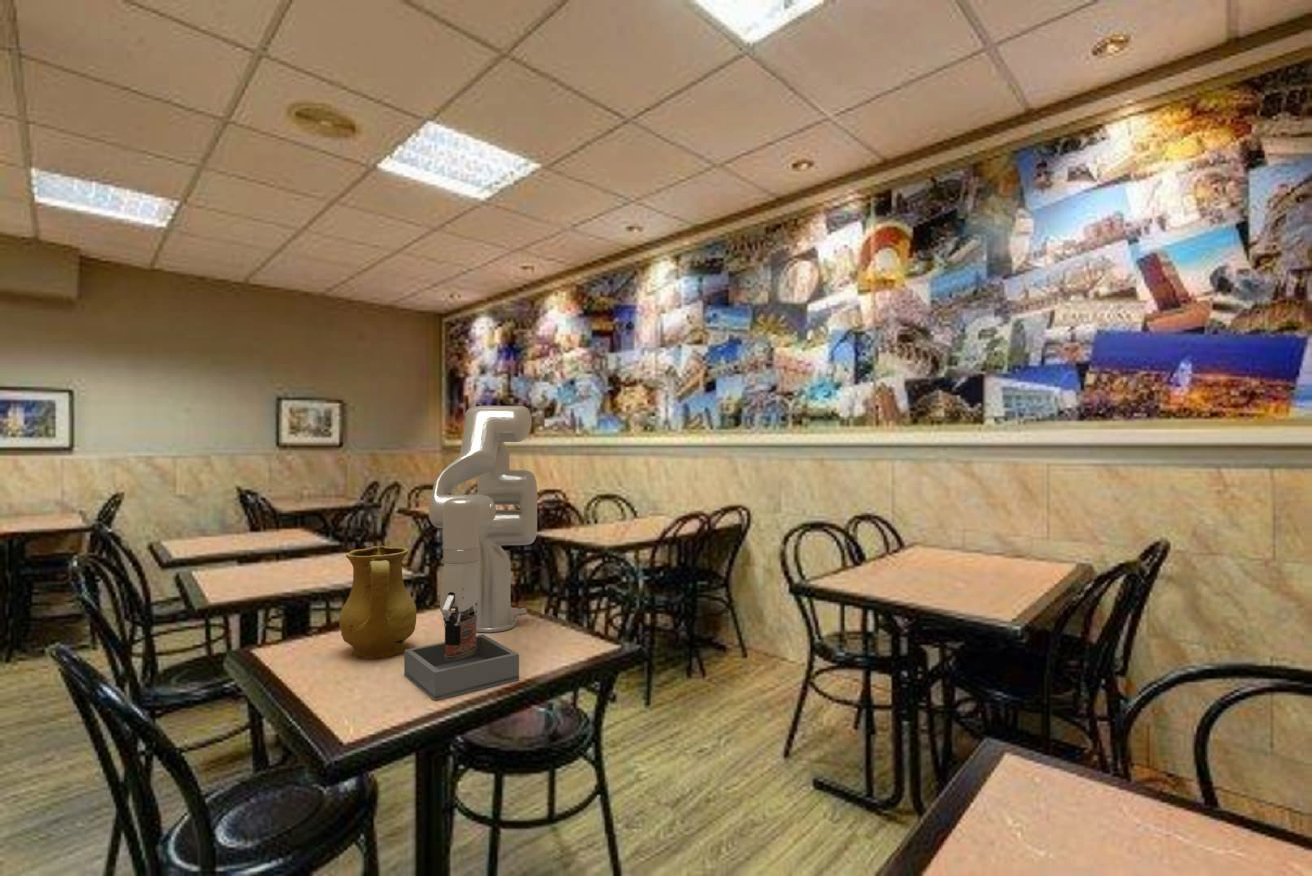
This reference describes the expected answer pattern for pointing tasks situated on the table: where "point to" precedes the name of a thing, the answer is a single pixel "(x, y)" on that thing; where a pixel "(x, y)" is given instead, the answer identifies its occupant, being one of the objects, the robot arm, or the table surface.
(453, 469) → the robot arm
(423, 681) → the bin
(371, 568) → the pitcher
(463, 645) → the lighter
